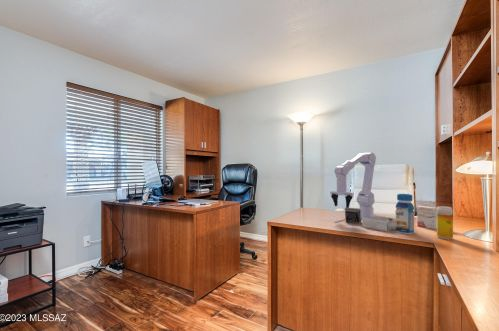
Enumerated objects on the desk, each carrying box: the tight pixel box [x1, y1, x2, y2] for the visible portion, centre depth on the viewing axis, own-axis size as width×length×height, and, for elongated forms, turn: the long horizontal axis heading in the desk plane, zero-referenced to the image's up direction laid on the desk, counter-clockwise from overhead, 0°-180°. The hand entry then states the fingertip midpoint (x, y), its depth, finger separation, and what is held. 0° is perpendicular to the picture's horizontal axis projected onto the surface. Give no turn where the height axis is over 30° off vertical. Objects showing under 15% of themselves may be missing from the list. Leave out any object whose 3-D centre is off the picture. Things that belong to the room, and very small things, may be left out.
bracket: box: [361, 215, 396, 232], centre depth 138 cm, size 14×13×6 cm
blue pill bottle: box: [394, 193, 415, 235], centre depth 127 cm, size 8×8×20 cm
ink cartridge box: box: [416, 200, 437, 230], centre depth 138 cm, size 9×5×15 cm, turn 47°
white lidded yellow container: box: [436, 205, 454, 241], centre depth 116 cm, size 6×6×15 cm
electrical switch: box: [344, 206, 362, 224], centre depth 150 cm, size 9×5×9 cm, turn 57°
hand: (341, 206), depth 151 cm, fingers open, 7 cm apart
